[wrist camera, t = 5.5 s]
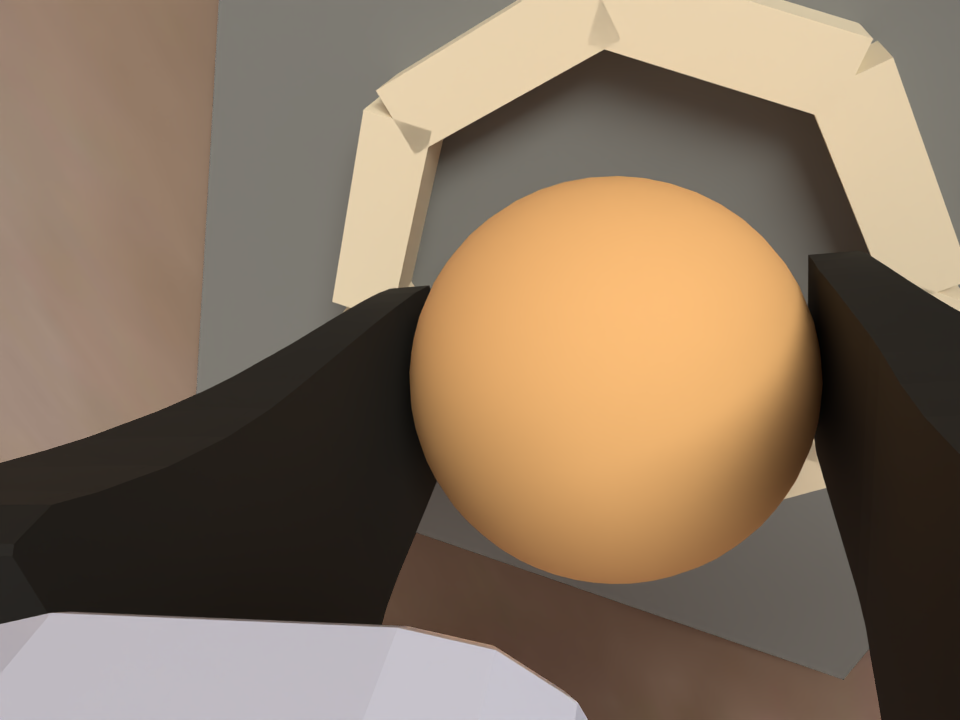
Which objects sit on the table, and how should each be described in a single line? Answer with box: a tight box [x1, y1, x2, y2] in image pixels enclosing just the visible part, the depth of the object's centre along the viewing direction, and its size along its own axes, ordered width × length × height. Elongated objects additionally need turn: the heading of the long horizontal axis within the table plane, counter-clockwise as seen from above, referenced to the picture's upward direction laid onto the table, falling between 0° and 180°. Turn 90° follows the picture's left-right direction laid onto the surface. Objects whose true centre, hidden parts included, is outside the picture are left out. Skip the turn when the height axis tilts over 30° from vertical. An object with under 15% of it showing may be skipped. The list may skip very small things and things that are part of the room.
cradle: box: [196, 0, 960, 680], centre depth 13 cm, size 14×14×1 cm
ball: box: [409, 176, 823, 584], centre depth 10 cm, size 5×5×5 cm
